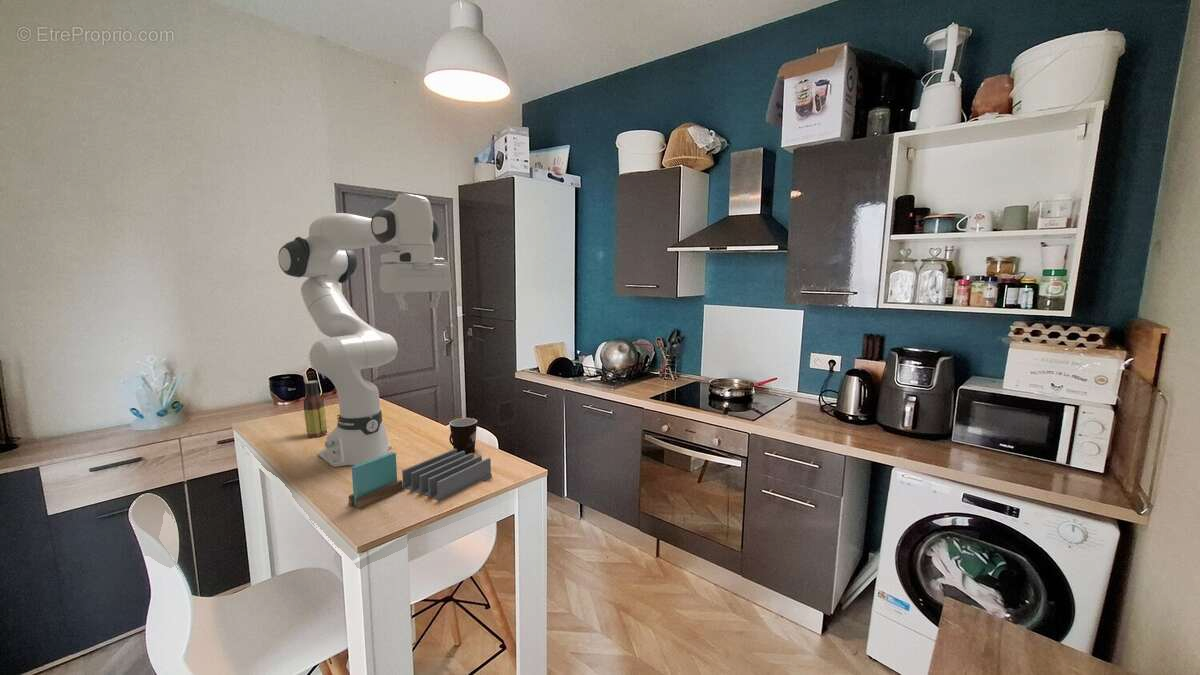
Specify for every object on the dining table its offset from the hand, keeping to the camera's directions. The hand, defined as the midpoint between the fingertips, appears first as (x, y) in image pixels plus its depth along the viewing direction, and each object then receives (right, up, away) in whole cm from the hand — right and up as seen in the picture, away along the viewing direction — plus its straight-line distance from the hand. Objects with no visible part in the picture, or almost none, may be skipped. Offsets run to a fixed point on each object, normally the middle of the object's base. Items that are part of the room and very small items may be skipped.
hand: (419, 309), depth 122 cm
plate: (-8, -48, -6) cm, 50 cm away
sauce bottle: (-53, -43, +41) cm, 80 cm away
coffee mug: (+3, -45, +25) cm, 52 cm away
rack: (+7, -48, +3) cm, 49 cm away
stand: (-8, -49, -6) cm, 50 cm away
